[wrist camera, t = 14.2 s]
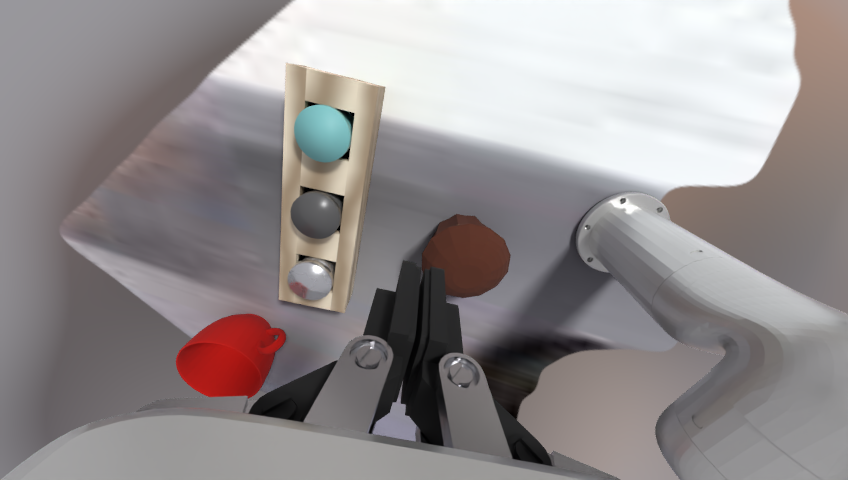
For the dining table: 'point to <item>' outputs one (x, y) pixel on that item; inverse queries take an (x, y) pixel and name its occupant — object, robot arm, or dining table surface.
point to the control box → (328, 177)
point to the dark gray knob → (317, 213)
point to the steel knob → (312, 278)
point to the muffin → (467, 256)
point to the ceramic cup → (230, 356)
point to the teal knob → (324, 132)
